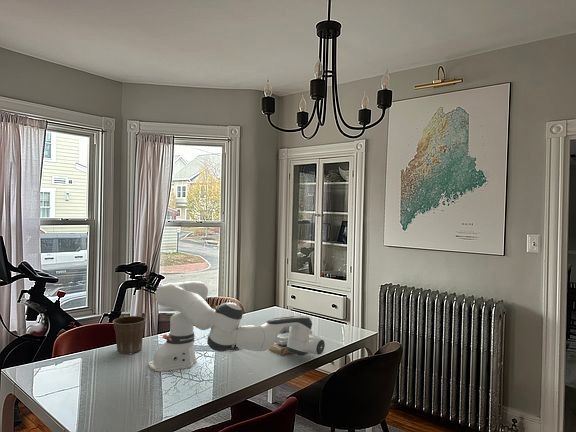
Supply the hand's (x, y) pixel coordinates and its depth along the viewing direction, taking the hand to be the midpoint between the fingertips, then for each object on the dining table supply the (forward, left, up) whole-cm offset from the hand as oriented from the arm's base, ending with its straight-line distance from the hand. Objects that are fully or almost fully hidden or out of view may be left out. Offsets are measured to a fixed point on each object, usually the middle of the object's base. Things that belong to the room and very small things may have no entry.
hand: (282, 333), depth 238 cm
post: (0, -1, -8) cm, 8 cm away
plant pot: (-65, +47, -9) cm, 81 cm away
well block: (0, -1, -9) cm, 9 cm away
